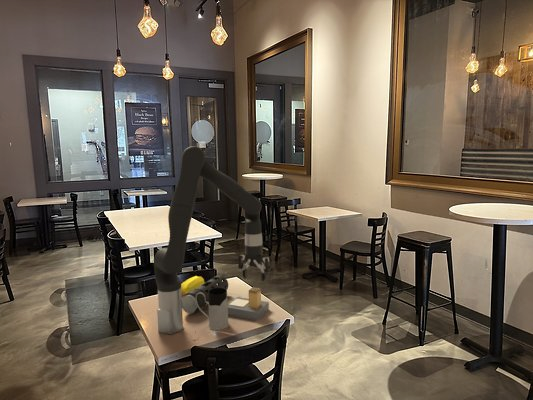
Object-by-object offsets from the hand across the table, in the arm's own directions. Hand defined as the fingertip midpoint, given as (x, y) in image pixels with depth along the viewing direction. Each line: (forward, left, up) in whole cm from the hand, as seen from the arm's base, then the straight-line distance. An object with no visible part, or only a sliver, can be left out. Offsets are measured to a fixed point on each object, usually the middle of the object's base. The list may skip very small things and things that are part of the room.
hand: (254, 279), depth 166 cm
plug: (0, 0, -16) cm, 16 cm away
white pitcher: (-16, +12, -16) cm, 26 cm away
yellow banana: (+13, +42, -16) cm, 47 cm away
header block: (0, +4, -16) cm, 16 cm away
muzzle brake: (+1, +26, -16) cm, 31 cm away
